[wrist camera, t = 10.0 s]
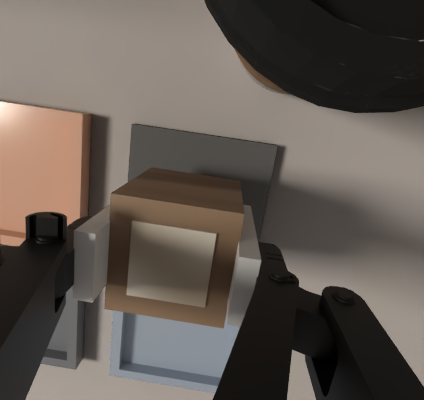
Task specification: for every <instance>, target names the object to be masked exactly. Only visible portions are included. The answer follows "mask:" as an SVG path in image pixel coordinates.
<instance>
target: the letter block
mask: <svg viewBox="0 0 424 400" xmlns="http://www.w3.org/2000/svg"><path fill="white" fill-rule="evenodd" d="M243 219H244V207H243V198H242V190H241V181H239V180H232V179H226V178H219V177H213V176H206V175H200V174H193V173H186V172H180V171H173V170H167V169H160V168H154V167H151V168H150V169H148V170H146V171H145V172H143V173H142V174H140V175H139V176H137V177H136V178H134V179H132V180H131V181H129V182H128V183H126V184H125V185H123V186H121V187H120V188H118V189H117V190H115V191H114V192H112V193H111V199H110V217H109V221H110V232H109V250H108V268H107V284H106V291H105V309H108V310H114V311H120V312H126V313H132V314H138V315H144V316H150V317H156V318H163V319H169V320H175V321H181V322H187V323H193V324H199V325H205V326H211V327H217V328H223V329H224V325H225V319H226V314H227V304H228V298H229V292H230V287H231V281H232V275H233V270H234V264H235V259H236V253H237V247H238V242H239V241H240V236H241V230H242V225H243Z"/></svg>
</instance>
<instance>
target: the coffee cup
mask: <svg viewBox="0 0 424 400" xmlns="http://www.w3.org/2000/svg"><path fill="white" fill-rule="evenodd" d="M204 1H205V3H206V6H207V8H208V10H209V11H210V13H211V15H212V16H213V18H214V19H215V21H216V23H217V24H218V26H219V27H220V29H221V31H222V32H223V34H224V35H225V37H226V39H227V40H228V42H229V43H230V44H231V45H232V46H233V47H234V49H235V51H236V53H237V55H238V57H239V58H240V61H241V64H242V66H243V68H244V69H245V71H246V72H247V74H248V75H249V76H250V77H251V78H252V79H253V80H254V81H255V82H256V83H257V84H259V85H260V86H262V87H263V88H266V89H268V90H270V91H274V92H279V93H287V94H292V95H294V96H297V97H299V98H301V99H304V100H306V101H308V102H311V103H313V104H316V105H318V106H322V107H327V108H332V109H338V110H343V111H348V112H354V113H375V112H397V111H402V110H407V109H412V108H416V107H421V106H424V0H204Z"/></svg>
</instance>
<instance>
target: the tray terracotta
mask: <svg viewBox="0 0 424 400" xmlns="http://www.w3.org/2000/svg"><path fill="white" fill-rule="evenodd" d="M90 144H91V114H88V113H81V112H75V111H68V110H61V109H55V108H48V107H41V106H34V105H28V104H21V103H14V102H8V101H1V100H0V244H3V245H9V246H20V245H21V244H22V243H23V241H24V240H25V239H26V224H25V217H26V216H28V215H29V214H33V213H37V212H57V213H61V214H64V215H66V216H67V226H68V225H69V224H71V223H72V222H74V221H75V220H77V219H79V218H82V217H86V216H88V202H89V173H90Z"/></svg>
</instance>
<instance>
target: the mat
mask: <svg viewBox="0 0 424 400" xmlns="http://www.w3.org/2000/svg"><path fill="white" fill-rule="evenodd" d="M277 147H278V146H277V145H274V144H267V143H261V142H254V141H247V140H240V139H234V138H227V137H220V136H214V135H207V134H200V133H194V132H187V131H180V130H173V129H167V128H160V127H153V126H147V125H140V124H132V128H131V143H130V157H129V172H128V182H129V181H131V180H132V179H134V178H136V177H137V176H139V175H140V174H142V173H143V172H145V171H146V170H148V169H150V168H151V167H154V168H160V169H167V170H173V171H180V172H186V173H193V174H200V175H206V176H213V177H219V178H226V179H232V180H239V181H241V190H242V198H243V205H249V206H251V210H252V215H253V220H254V225H255V230H256V235H257V241H258V242H259V238H260V232H261V227H262V222H263V217H264V212H265V207H266V202H267V197H268V192H269V187H270V182H271V177H272V172H273V167H274V162H275V157H276V152H277Z"/></svg>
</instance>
